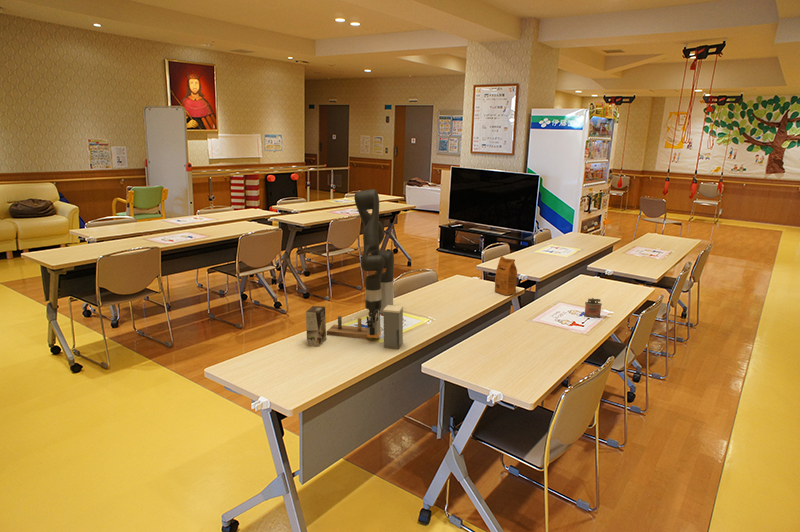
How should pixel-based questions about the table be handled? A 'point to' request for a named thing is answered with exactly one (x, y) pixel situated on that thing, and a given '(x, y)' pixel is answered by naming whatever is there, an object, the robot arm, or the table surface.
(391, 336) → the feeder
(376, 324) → the sleeve
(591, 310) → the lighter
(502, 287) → the coffee package
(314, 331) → the coffee box
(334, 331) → the pin block
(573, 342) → the table surface
